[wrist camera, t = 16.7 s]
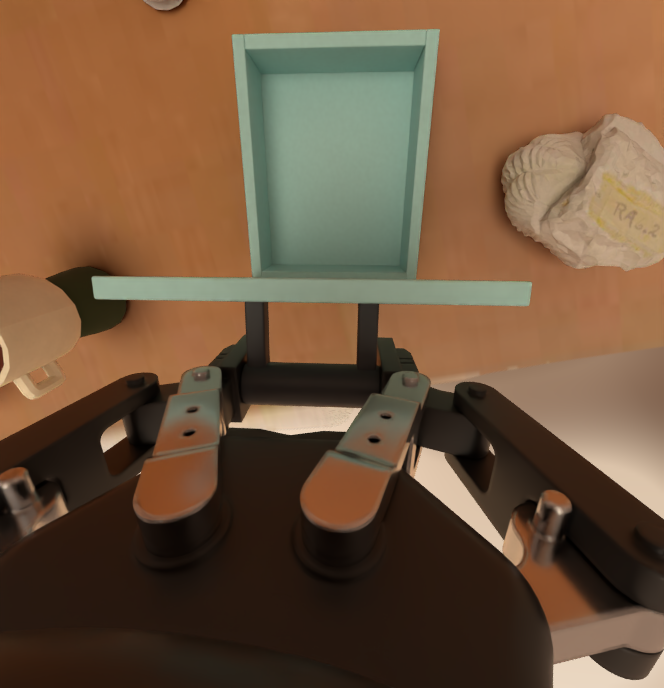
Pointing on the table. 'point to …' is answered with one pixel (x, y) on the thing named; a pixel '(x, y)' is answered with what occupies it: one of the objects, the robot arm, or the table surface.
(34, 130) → the table surface
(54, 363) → the character mug
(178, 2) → the rook chess piece
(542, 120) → the table surface
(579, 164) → the fossil replica
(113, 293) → the green hinged lid
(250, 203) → the storage box
